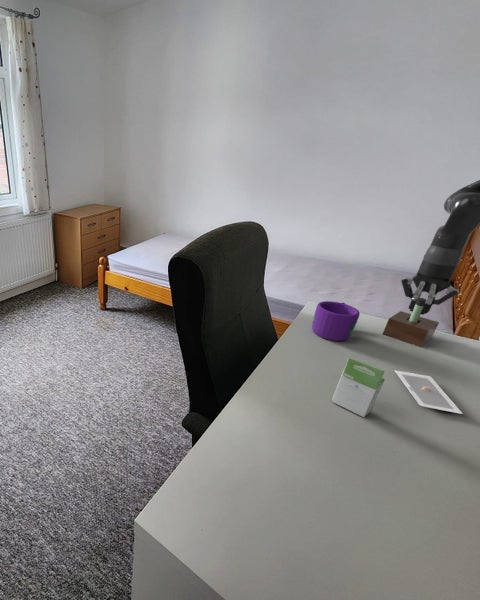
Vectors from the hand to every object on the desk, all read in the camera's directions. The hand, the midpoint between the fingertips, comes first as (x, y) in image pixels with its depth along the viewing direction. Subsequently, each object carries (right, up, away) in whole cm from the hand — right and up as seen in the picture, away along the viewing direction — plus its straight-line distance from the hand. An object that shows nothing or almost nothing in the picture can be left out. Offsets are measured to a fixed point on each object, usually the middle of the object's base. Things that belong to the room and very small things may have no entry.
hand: (417, 312), depth 108 cm
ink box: (-42, -23, -25) cm, 54 cm away
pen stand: (0, -8, +4) cm, 9 cm away
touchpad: (-20, -20, -22) cm, 36 cm away
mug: (-22, -7, +7) cm, 24 cm away
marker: (0, -8, +4) cm, 9 cm away
